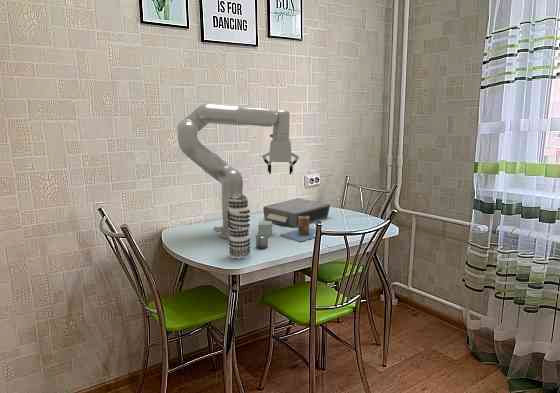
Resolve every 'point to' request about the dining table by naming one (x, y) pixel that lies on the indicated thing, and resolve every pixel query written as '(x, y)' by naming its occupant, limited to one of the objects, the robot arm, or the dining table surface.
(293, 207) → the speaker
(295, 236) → the mat
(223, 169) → the robot arm
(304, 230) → the walnut block
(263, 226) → the sage cube
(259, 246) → the grey cylinder
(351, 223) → the dining table surface
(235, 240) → the decorative candle
